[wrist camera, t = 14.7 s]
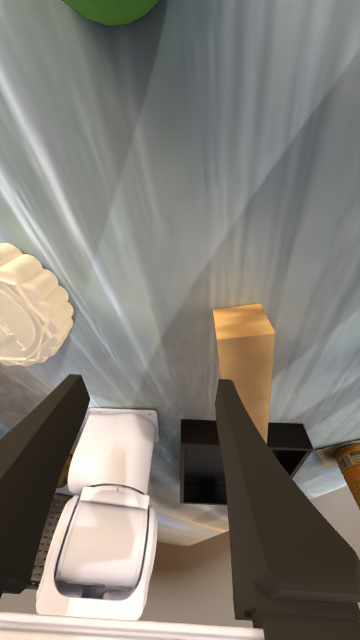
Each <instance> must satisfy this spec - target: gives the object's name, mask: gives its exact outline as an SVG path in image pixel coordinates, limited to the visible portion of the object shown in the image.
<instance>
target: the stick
mask: <svg viewBox="0 0 360 640" xmlns="http://www.w3.org/2000/svg"><path fill="white" fill-rule="evenodd" d="M213 317H214V325H215V333H216V342H217V350H218V359H219V367H220V375H221V379H231V380H232V381H233V383H234V385H235V388H236V390H237V392H238V394H239V396H240V399H241V401H242V403H243V404H244V406H245V408H246V410H247V412H248V414H249V416H250V417H251V419H252V421H253V423H254V424H255V426H256V428H257V429H258V431H259V433H260V434H261V436H262V437H263V439H264V441H265V442H266V444H267V434H268V421H269V408H270V395H271V382H272V368H273V355H274V342H275V332H274V330H273V328H272V326H271V324H270V322H269V319H268V317H267V315H266V313H265V311H264V309H263V307H262V305H261V303H259V304H251V305H243V306H236V307H228V308H221V309H213Z"/></svg>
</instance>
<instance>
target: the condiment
mask: <svg viewBox="0 0 360 640" xmlns="http://www.w3.org/2000/svg"><path fill="white" fill-rule="evenodd" d="M316 452H317V454H318V456H319V458H320V460H321V462H322V463H323V465H324V467H330V466H334V465H335V466H337V465H338V466H339V468H340V470H341V473H342V474H343V476H344V479H345V481H346V483H347V485H348V486H349V488H350V491H351V493H352V494H353V496H354V499H355V501H356V503H357V505H358V507H359V509H360V440H359V441H352V442H348V443H345V444H341V445H339V446H331V447H326V448H324V449H319V450H316Z"/></svg>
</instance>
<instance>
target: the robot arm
mask: <svg viewBox="0 0 360 640" xmlns="http://www.w3.org/2000/svg"><path fill="white" fill-rule="evenodd" d="M89 401H90V397H89V394H88V392H87V389H86V386H85V384H84V381H83V378H82V376H81V375H74V374H70V375H69V376H67V377H66V378H65V379H64V380H63V381H62V382H61V383H60V384H59V385H58V386H57V387H56V388H55V389H54V390H53V391H52V392H51V393H50V394H49V395H48V396H47V397H46V398H45V399H44V400H43V401H42V402H41V403H40V404H39V405H38V406H37V407H36V408H35V409H34V410H33V411H32V412H31V413H30V414H29V415H28V416H26V417H25V418H24V419H23V420H22V421H21V422H20V423H19V424H18V425H16V426H15V427H14V428H13V429H12V430H11V431H10V432H8V433H7V434H6V435H5V436H4V437H2V438H1V439H0V598H1V595H2V593H11V594H20V593H21V592H22V591H23V590H24V589H26V587H27V586H28V585H29V584H30V581H31V576H32V572H33V568H34V564H35V560H36V556H37V553H38V549H39V545H40V541H41V538H42V534H43V530H44V527H45V523H46V520H47V516H48V513H49V510H50V507H51V503H52V500H53V497H54V494H55V491H56V488H57V485H58V482H59V479H60V476H61V473H62V470H63V467H64V465H65V462H66V460H67V458H68V455H69V453H70V451H71V449H72V446H73V444H74V442H75V439H76V437H77V435H78V432H79V430H80V428H81V425H82V423H83V420H84V418H85V415H86V412H87V408H88V405H89ZM215 406H216V422H217V429H218V435H219V441H220V447H221V454H222V460H223V466H224V472H225V480H226V493H227V505H228V519H229V533H230V547H231V564H232V582H233V602H234V612H235V619H236V620H252V621H253V628H241V627H226V626H211V625H196V624H180V623H164V622H149V621H137V620H138V619H139V618H140V616H141V615H142V612H143V608H144V606H145V605H146V599H147V592H148V585H149V579H150V576H151V573H152V568H153V563H154V557H155V551H156V542H157V528H158V519H157V513H156V511H155V510H154V507H153V506H152V505H149V497H150V496H148V495H147V490H148V482H149V475H150V467H151V459H152V452H153V444H154V442H158V441H159V439H160V437H159V427H158V417H157V412H156V411H155V410H133V409H106V408H90V409H89V414H90V415H89V417H88V420H87V422H86V425H85V427H84V430H83V432H82V435H81V437H80V440H79V443H78V445H77V448H76V450H75V453H74V455H73V458H72V461H71V464H70V468H69V474H68V489H69V491H70V493H71V494H74V495H75V496H74V497H73V498H72V499H70V500H69V501H68V502H67V504H66V505H65V507H64V510H63V512H62V514H61V517H60V519H59V522H58V524H57V527H56V530H55V533H54V535H53V538H52V541H51V545H50V548H49V551H48V554H47V558H46V562H45V567H44V573H43V576H42V579H41V582H40V585H39V588H38V592H37V595H36V598H37V603H36V611H37V614H27V613H12V612H0V640H360V621H359V620H360V609H359V607H358V604H357V603H358V602H360V560H359V558H358V556H357V554H356V552H355V551H354V550H353V548H352V547H351V546H350V545H349V544H348V543H347V542H346V541H345V540H344V539H343V538H342V537H341V536H340V534H339V533H338V532H337V531H336V530H335V529H334V528H333V527H332V526H331V525H330V524H329V522H327V520H326V519H325V518H324V517H323V516H322V514H321V513H320V512H319V511H318V510H317V509H316V508H315V507H314V505H313V504H312V503H311V502H310V501H309V499H308V498H307V497H306V496H305V494H304V493H303V492H302V491H301V489H300V488H299V487H298V486H297V485H296V483H295V482H294V481H293V480H292V478H291V477H290V476H289V474H288V473H287V472H286V470H285V469H284V468H283V466H282V465H281V464H280V462H279V461H278V460H277V458H276V457H275V455H274V454H273V453H272V451H271V450H270V448H269V447H268V445H267V444H266V442H265V441H264V439H263V437H262V436H261V434H260V433H259V431H258V429H257V428H256V426H255V424H254V423H253V421H252V419H251V417H250V416H249V414H248V412H247V410H246V408H245V406H244V404H243V403H242V401H241V399H240V396H239V394H238V392H237V390H236V388H235V385H234V383H233V381H232V380H231V379H219V383H218V389H217V395H216V402H215ZM79 495H81V496H79ZM66 581H70V582H81V583H92V584H103V585H115V586H124V587H121V588H106V587H95V586H84V585H73V584H70V583H68V582H66Z"/></svg>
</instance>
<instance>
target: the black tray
mask: <svg viewBox="0 0 360 640" xmlns="http://www.w3.org/2000/svg"><path fill="white" fill-rule="evenodd" d="M267 445H268V447H269V448H270V450H271V451H272V453H273V454H274V455H275V457H276V458H277V460H278V461H279V462H280V464H281V465H282V466H283V468H284V469H285V470H286V472H287V473H288V474H289V476H290V477H291V478H293V477H294V475H295V474H296V472H297V471H298V470H299V468H300V467H301V466H302V464H303V463H304V461H305V460H306V459H307V457H308V456H309V455H310V453H311V452H312V450H313V447H312V444H311V442H310V440H309V437H308V435H307V433H306V430H305V428H304V426H303V424H288V423H268V434H267ZM180 503H184V504H205V505H226V506H228V505H227V493H226V480H225V472H224V466H223V460H222V454H221V447H220V441H219V435H218V429H217V422H216V421H207V420H181V474H180Z"/></svg>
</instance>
